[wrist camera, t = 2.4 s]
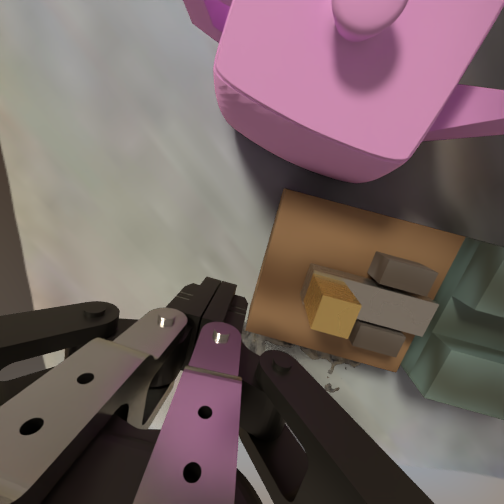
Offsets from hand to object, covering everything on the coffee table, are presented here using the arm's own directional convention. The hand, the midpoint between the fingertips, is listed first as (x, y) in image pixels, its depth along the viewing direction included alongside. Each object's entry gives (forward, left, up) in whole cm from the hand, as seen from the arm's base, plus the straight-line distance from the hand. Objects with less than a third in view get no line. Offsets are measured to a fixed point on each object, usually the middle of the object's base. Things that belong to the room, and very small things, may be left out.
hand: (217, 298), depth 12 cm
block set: (0, +13, -10) cm, 16 cm away
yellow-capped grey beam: (0, +9, -6) cm, 11 cm away
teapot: (-13, +3, -10) cm, 17 cm away
